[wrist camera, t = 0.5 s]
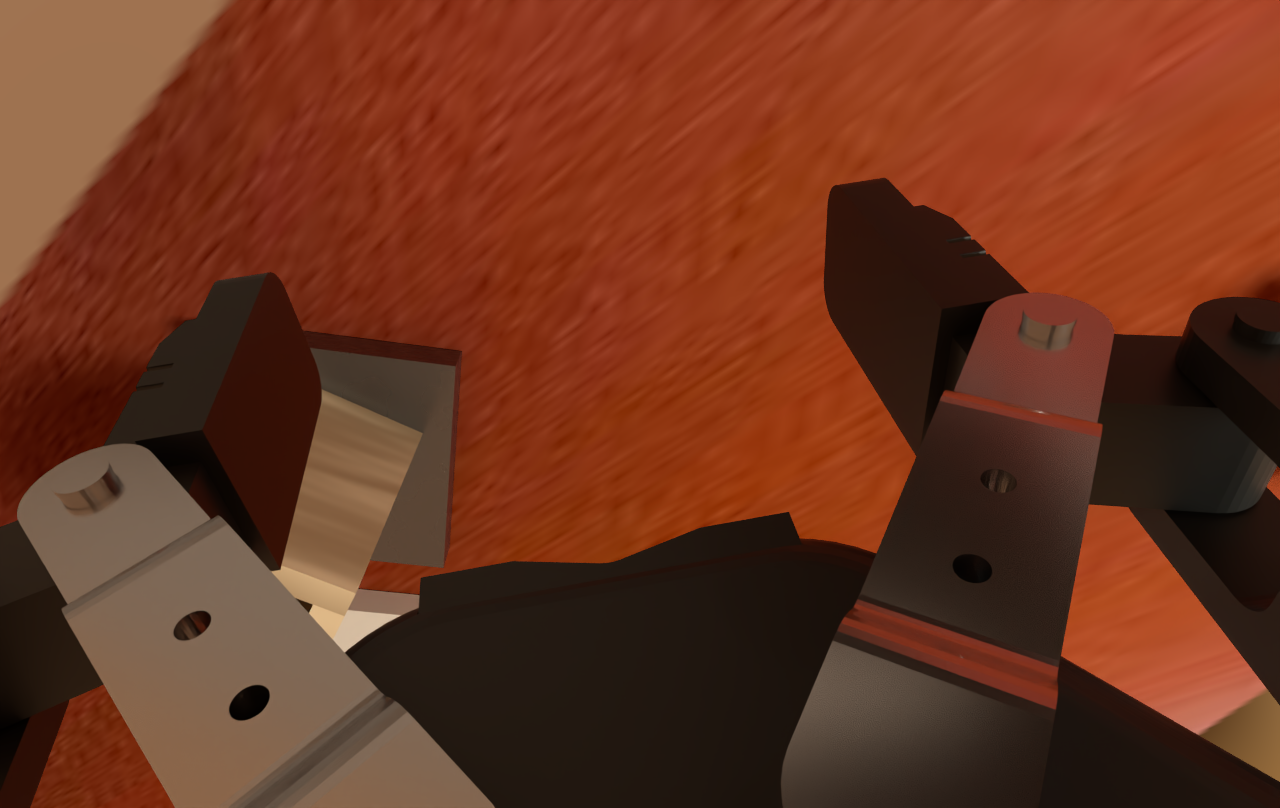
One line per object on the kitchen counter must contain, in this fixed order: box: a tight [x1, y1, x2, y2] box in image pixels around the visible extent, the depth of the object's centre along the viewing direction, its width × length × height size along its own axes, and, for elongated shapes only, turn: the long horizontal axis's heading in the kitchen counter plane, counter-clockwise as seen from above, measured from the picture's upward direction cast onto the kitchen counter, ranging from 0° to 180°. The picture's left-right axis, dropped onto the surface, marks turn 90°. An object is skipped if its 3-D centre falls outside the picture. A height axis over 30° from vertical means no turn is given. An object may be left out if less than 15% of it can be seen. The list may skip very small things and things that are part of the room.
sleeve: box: [271, 390, 423, 639], centre depth 30 cm, size 6×6×10 cm
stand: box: [303, 331, 462, 568], centre depth 32 cm, size 10×10×10 cm
